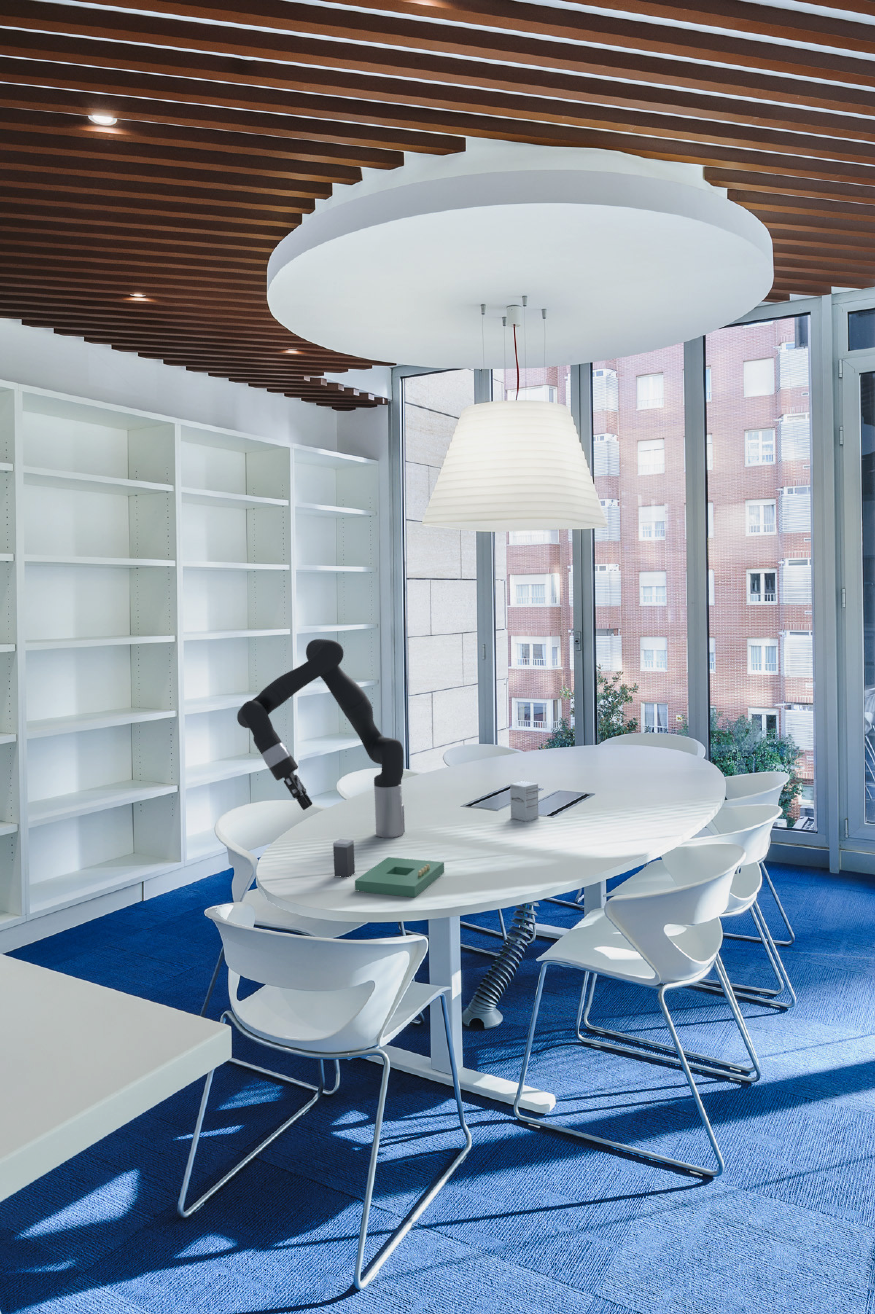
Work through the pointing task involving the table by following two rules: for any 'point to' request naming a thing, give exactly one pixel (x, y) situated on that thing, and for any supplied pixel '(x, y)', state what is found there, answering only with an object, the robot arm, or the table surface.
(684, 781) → the table surface
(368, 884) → the socket board
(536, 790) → the supplement box
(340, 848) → the black plug
